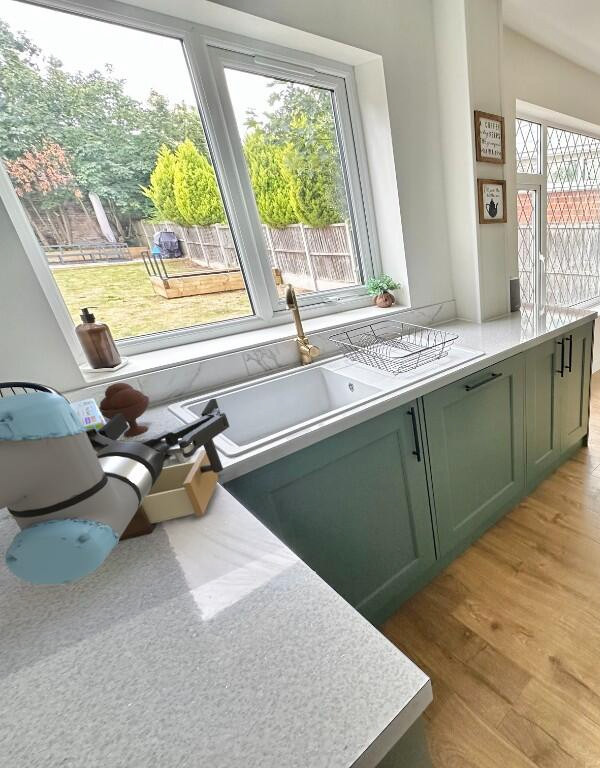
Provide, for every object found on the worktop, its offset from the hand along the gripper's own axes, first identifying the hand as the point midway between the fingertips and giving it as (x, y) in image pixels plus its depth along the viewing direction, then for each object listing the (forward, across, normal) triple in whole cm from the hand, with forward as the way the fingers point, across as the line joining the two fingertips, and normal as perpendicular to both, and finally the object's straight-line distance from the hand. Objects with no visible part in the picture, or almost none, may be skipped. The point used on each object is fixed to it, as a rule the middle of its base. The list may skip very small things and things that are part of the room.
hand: (170, 412), depth 73 cm
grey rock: (+35, -16, -26) cm, 46 cm away
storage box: (+10, -19, -26) cm, 34 cm away
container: (+10, -9, -24) cm, 28 cm away
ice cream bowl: (+56, -31, -26) cm, 70 cm away
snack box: (+38, -31, -26) cm, 55 cm away
